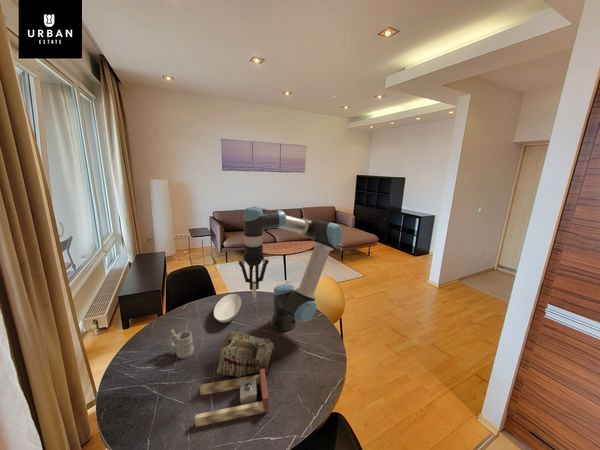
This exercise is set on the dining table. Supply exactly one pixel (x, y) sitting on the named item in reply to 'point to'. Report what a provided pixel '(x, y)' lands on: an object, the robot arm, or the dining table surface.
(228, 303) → the bowl
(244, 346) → the sculptural head
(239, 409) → the channel
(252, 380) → the block
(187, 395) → the dining table surface
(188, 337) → the mug
